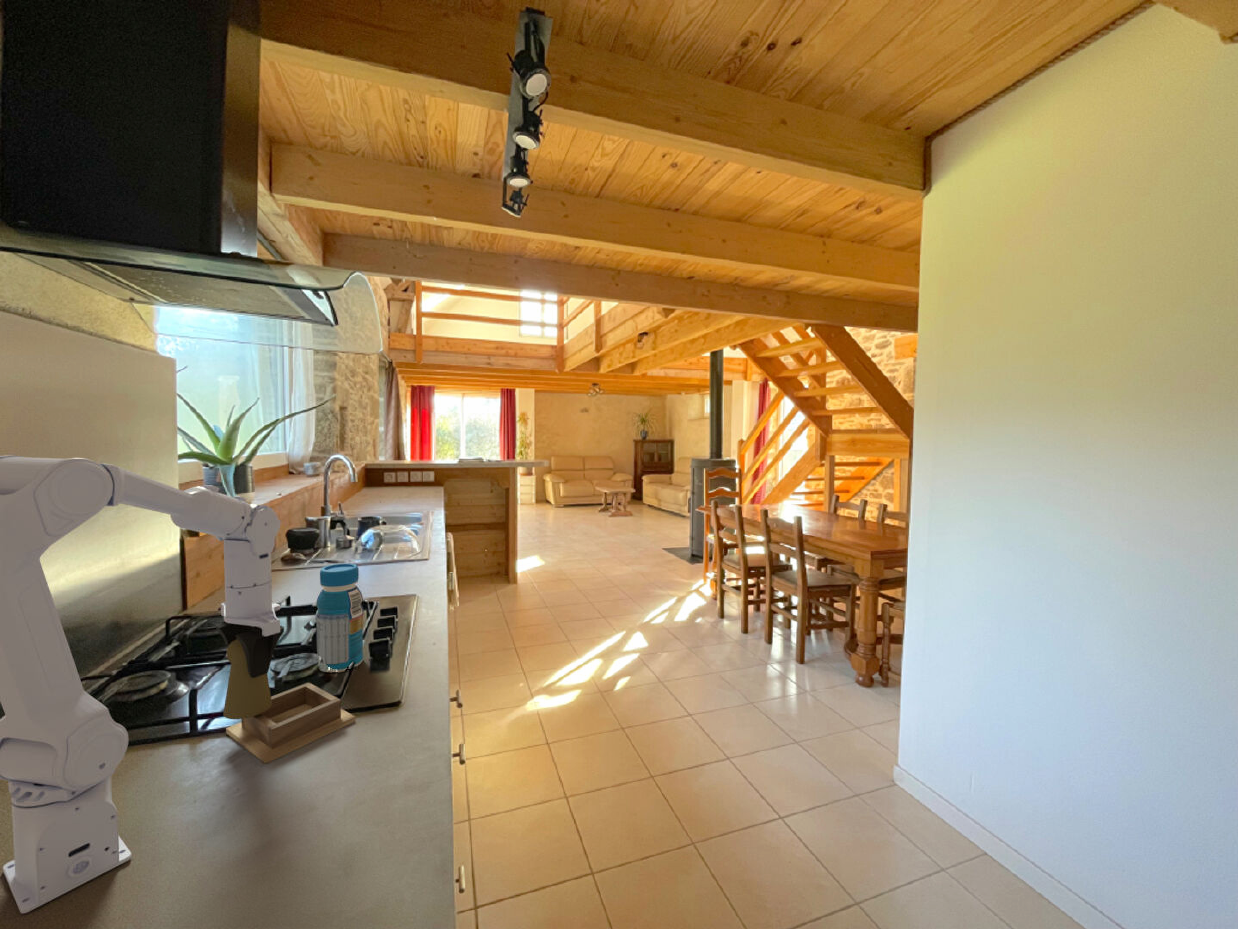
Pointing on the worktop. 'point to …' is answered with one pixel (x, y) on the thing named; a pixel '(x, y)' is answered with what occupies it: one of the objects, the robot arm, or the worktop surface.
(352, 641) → the beverage bottle
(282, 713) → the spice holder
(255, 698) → the cork
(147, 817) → the worktop surface
